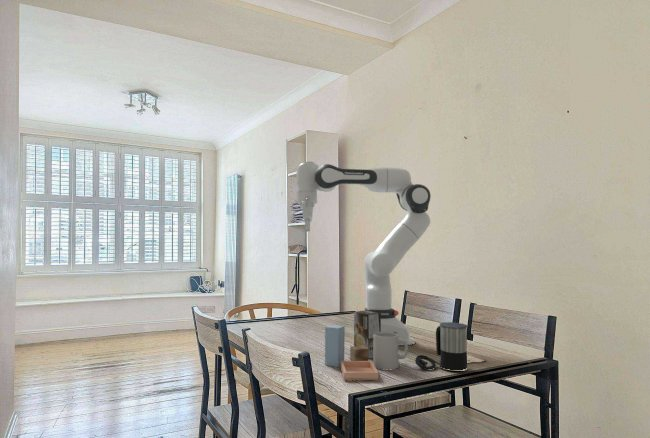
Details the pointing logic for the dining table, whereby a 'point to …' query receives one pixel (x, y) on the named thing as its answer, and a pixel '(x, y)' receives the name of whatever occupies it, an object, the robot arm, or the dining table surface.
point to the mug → (387, 350)
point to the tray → (358, 370)
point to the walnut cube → (359, 353)
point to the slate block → (334, 345)
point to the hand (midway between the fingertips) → (307, 230)
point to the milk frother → (448, 347)
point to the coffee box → (366, 329)
